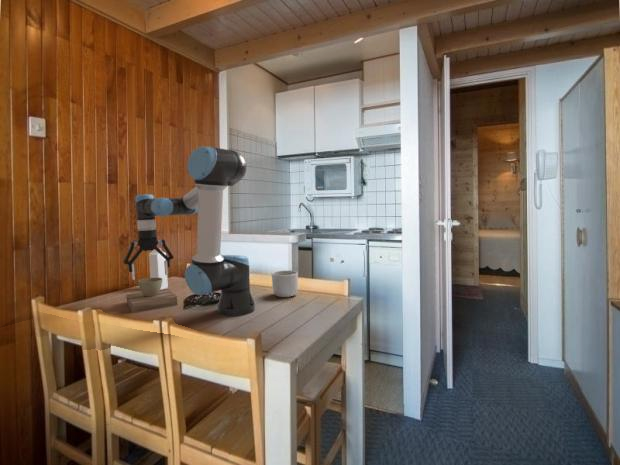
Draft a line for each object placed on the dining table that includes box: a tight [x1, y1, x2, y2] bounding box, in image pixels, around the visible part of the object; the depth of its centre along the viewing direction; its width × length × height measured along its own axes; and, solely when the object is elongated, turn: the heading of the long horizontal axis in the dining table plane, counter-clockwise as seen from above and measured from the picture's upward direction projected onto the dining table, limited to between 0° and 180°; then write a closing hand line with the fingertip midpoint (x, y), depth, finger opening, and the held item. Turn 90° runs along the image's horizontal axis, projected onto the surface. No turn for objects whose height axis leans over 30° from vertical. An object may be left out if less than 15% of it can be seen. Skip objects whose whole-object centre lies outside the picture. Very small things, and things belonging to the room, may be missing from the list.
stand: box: [126, 288, 178, 314], centre depth 158 cm, size 18×18×4 cm
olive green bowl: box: [137, 277, 162, 297], centre depth 157 cm, size 10×10×7 cm
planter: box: [271, 270, 299, 298], centre depth 167 cm, size 12×12×11 cm
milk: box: [148, 247, 169, 290], centre depth 187 cm, size 6×6×22 cm
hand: (150, 277), depth 157 cm, fingers open, 13 cm apart
